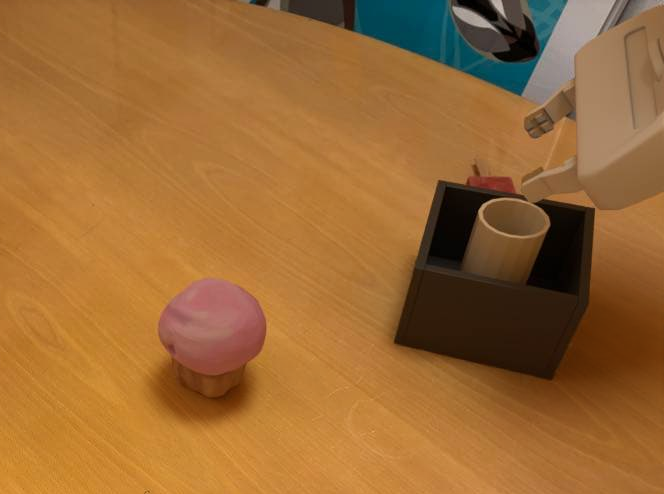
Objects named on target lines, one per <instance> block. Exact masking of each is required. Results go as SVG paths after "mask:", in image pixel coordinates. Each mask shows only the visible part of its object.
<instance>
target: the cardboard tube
mask: <svg viewBox="0 0 664 494" xmlns="http://www.w3.org/2000/svg"><path fill="white" fill-rule="evenodd" d="M549 227H550V220H549V216H548V215H547V214H546V213H545V212H544V211H543V210H542V209H541V208H539V207H538V206H536V205H534V204H532V203H530V202H527V201H524V200H520V199H514V198H498V199H492V200H490V201H488V202H486V203H484V204H483V205H482V206H481V208H480V209H479V211H478V214H477V217H476V220H475V223H474V226H473V229H472V232H471V236H470V239H469V242H468V245H467V248H466V251H465V254H464V257H463V260H462V263H461V267H460V270H459V271H461V272H466V273H470V274H475V275H480V276H485V277H490V278H495V279H499V280H504V281H509V282H514V283H519V284H523V285H527V282H528V280H529V277H530V275H531V272H532V270H533V267H534V265H535V262H536V260H537V257H538V255H539V252H540V250H541V247H542V245H543V242H544V240H545V237H546V235H547V232H548V230H549Z"/></svg>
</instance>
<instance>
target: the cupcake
mask: <svg viewBox="0 0 664 494" xmlns="http://www.w3.org/2000/svg"><path fill="white" fill-rule="evenodd" d="M157 334H158V338H159V341H160V344H162V346H163V348H164V349H165V350H166V351H167V353H168V354H169V356H171V361H172V362H171V363H172V364H171V365H172V371H173V374H174V378H175V380H176V381H177V382H178V383H179V384H180V385H181V386H183V387H185V388H187V389H188V390H192V391H195V392H197V393H199V394H201V395H203V396H204V397H205V398H211V399H213V398H218V397H222V396H224V395H225V394H226V393H227V391H229V390H230V389H232V388H234V387H236V386H237V385H238V384H239V383H240V381H241V379H242V377H243V374H244V372H245V369H246V367H247V365H248V363H249V362H251V361H252V360H254V359H255V358H256V357H258V356H259V355H260V353H261V352H262V349H263V347H264V345H265V341H266V336H267V319H266V317H265V313H264V311H263V308H262V307H261V304H260V302H259V300H257V298H256V297H255V296H254V295H253V294H251V293H250V292H249V291H247V290H246V289H245V288H243V287H242V286H240V285H238V284H236V283H233V282H231V281H229V280H226V279H223V278H218V277H204V278H200V279H198V280H195V281H194V282H193V283H191V284H190V285H188V286H187V287H186V288H185V289H183V290H182V291H181V292H179V293H177V294H176V295H174V296H173V297H172V298H171V299H170V300H169V302H168V303H167V304H166V306H165V307H164V308H163V310H162V312H161V314H160V317H159V319H158V323H157Z"/></svg>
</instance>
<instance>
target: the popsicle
mask: <svg viewBox="0 0 664 494" xmlns="http://www.w3.org/2000/svg"><path fill="white" fill-rule="evenodd" d="M474 162H475V165H476V167H477V168H476V169H477V170H478V174H479V176H477V175H476V176H475V175H474V176H473V175H471V176H468V177H467V179H466V181H465V182H466V183H465V185H470V186H476V187H481V188H487V189H492V190H498V191H503V192H509V193H514V194H517V192H516V188H515V185H514V182H513V180H512V177H511V176H492V175H491V174H490V171H489V169H488V166H487V163H486V161H485V158H484V157H483V156H482V155H475V156H474Z"/></svg>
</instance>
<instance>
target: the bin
mask: <svg viewBox="0 0 664 494" xmlns="http://www.w3.org/2000/svg"><path fill="white" fill-rule="evenodd" d="M498 198H514V199H520V200H524V201H527V199H526V198H525V197H524V195H523V194H519V193H516V194H514V193H509V192H503V191H498V190H492V189H487V188H481V187H476V186H470V185H466V183H465V184H464V183H459V182H453V181H447V180H443V179H438V180H437V183H436V187H435V190H434V195H433V198H432V202H431V204H430V210H429V212H428V217H427V219H426V222H425V223H426V224H425V227H424V231H423V234H422V238H421V240H420V245H419V249H418V251H417V255H416V260H415V263H414V267H413V269H412V270H413V271H412V274H411V278H410V281H409V285H408V288H407V292H406V296H405V298H404V299H405V300H404V303H403V307H402V309H401V310H402V311H401V314H400V318H399V321H398V325H397V328H396V333H395V335H394V340H393V344H395V345H399V346H404V347H407V348H412V349H416V350H420V351H425V352H429V353H433V354H438V355H441V356H447V357H450V358H455V359H459V360H464V361H468V362H473V363H477V364H481V365H486V366H490V367H493V368H498V369H502V370H507V371H511V372H515V373H520V374H524V375H528V376H531V377H537V378H541V379H544V380H549V381H552V380H554V377H555V374H556V373H557V370H558V369H559V367H560V365H561V362H562V360H563V359H564V357H565V354H566V352H567V350H568V348H569V346H570V345H571V342H572V341H573V339H574V336H575V333H576V332H577V330H578V327H579V325H580V324H581V322H582V319H583V317H584V315H585V313H586V311H587V309H588V307H589V305H590V295H591V294H590V293H591V292H590V291H591V279H592V265H593V264H592V263H593V249H594V233H595V220H596V219H595V218H596V207H591V206H585V205H581V204H579V205H578V204H574V203H569V202H564V201H558V200H552V199H547V198H544V199H542V200H540V201H538V202H536V203H532V204H534V205H536V206H538V207H539V208H541V209H542V210H543V211H544V212H545V213H546V214H547V215H548V216H549V220H550V227H549V230H548V232H547V235H546V237H545V240H544V242H543V245H542V247H541V250H540V252H539V255H538V257H537V260H536V262H535V265H534V267H533V270H532V272H531V275H530V277H529V280H528V282H527V285H523V284H519V283H514V282H509V281H504V280H499V279H495V278H490V277H485V276H480V275H475V274H470V273H466V272H461V271H459V270H460V267H461V263H462V260H463V257H464V254H465V251H466V248H467V245H468V242H469V239H470V236H471V232H472V229H473V226H474V223H475V220H476V217H477V214H478V211H479V209H480V208H481V206H482V205H483V204H484V203H486V202H488V201H490V200H492V199H498ZM527 202H528V201H527Z"/></svg>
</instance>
